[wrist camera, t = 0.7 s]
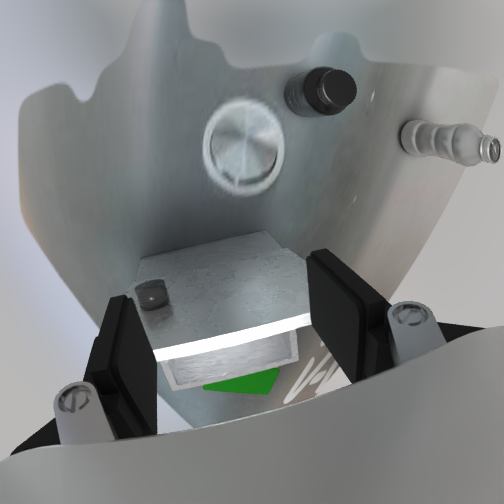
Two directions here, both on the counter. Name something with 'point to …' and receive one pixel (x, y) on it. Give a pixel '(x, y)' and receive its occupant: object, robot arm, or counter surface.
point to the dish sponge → (247, 383)
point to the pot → (232, 357)
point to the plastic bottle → (450, 142)
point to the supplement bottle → (320, 92)
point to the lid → (223, 303)
